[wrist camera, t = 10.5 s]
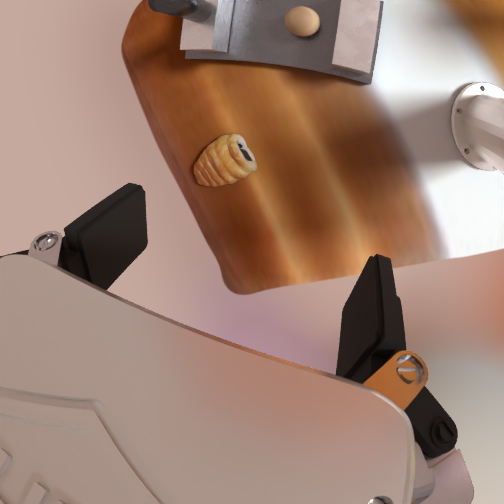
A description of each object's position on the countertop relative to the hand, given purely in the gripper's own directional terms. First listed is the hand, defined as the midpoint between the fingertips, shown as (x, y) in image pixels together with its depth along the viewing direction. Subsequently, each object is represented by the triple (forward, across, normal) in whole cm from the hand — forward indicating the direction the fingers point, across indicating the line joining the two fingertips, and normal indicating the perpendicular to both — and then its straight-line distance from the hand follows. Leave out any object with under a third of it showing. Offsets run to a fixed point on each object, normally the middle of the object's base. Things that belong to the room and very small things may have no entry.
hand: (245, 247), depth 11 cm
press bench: (+29, +7, -13) cm, 32 cm away
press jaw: (+27, +15, -13) cm, 33 cm away
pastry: (+29, +11, +8) cm, 32 cm away
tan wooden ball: (+25, +4, -13) cm, 29 cm away
